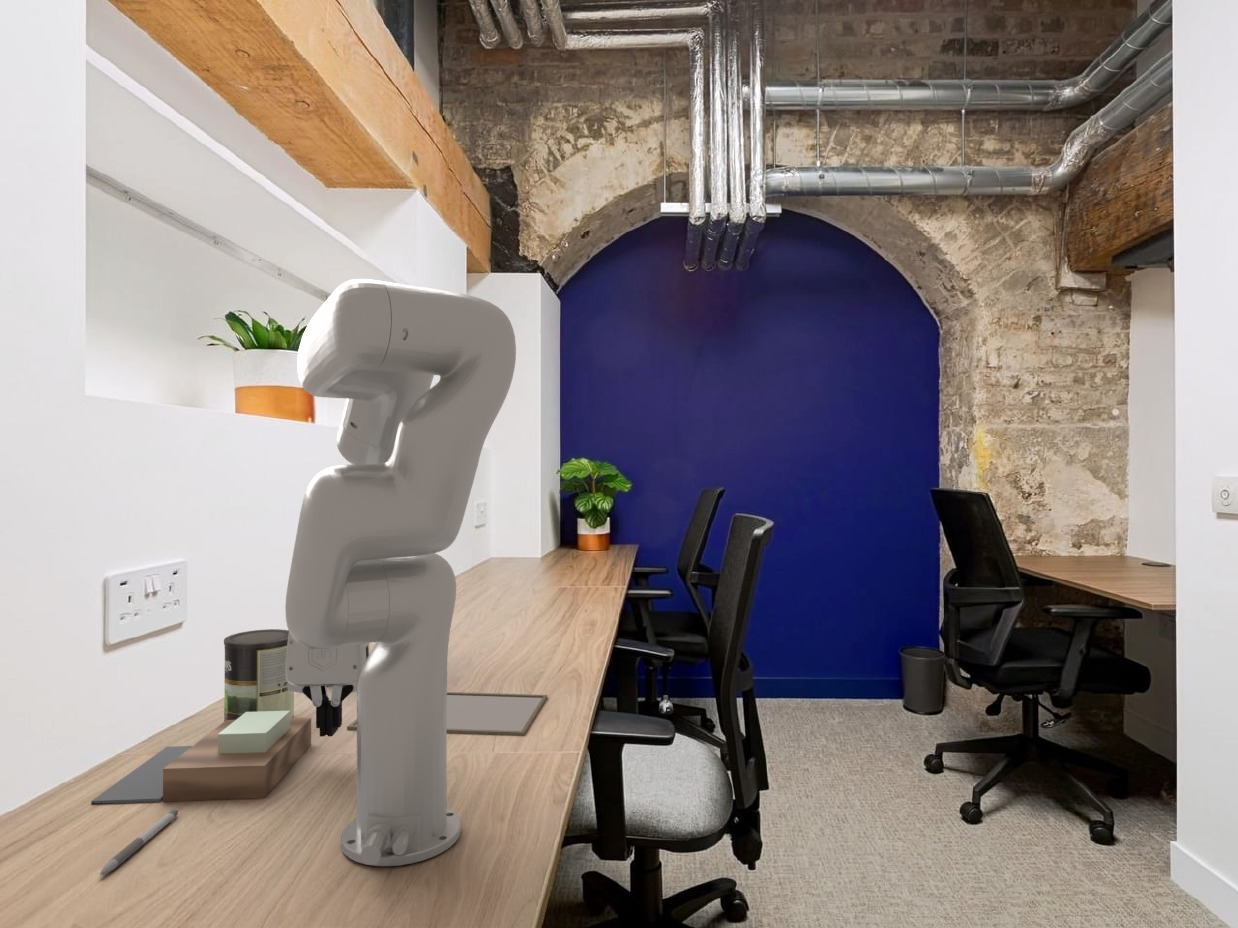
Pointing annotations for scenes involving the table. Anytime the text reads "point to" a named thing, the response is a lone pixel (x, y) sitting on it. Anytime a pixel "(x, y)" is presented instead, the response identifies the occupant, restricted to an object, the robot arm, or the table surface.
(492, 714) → the picture frame
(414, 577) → the robot arm
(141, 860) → the table surface
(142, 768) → the mat
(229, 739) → the block
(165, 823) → the pen
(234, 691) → the coffee can
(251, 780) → the brown wooden flat block
